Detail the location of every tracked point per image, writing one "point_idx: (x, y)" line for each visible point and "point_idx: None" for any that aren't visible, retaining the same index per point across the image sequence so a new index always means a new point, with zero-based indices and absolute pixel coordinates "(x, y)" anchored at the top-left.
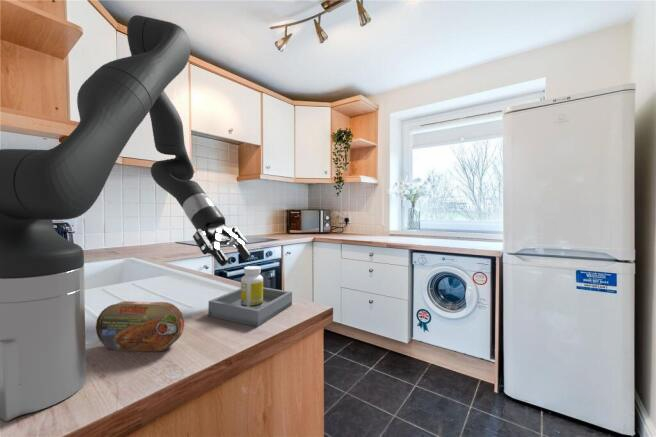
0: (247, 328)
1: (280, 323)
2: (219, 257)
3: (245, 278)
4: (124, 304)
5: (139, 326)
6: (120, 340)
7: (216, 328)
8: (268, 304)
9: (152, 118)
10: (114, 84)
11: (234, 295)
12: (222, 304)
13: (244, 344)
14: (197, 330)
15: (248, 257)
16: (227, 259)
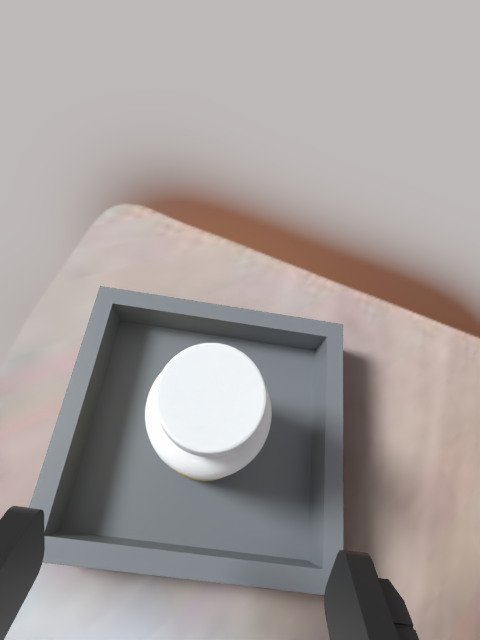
0: (344, 369)
1: (275, 294)
2: (415, 637)
3: (264, 421)
4: None
5: None
6: None
7: (389, 464)
8: (272, 317)
9: None
10: None
11: (180, 549)
12: (341, 498)
13: (420, 331)
14: (430, 519)
15: (42, 519)
16: (351, 559)
